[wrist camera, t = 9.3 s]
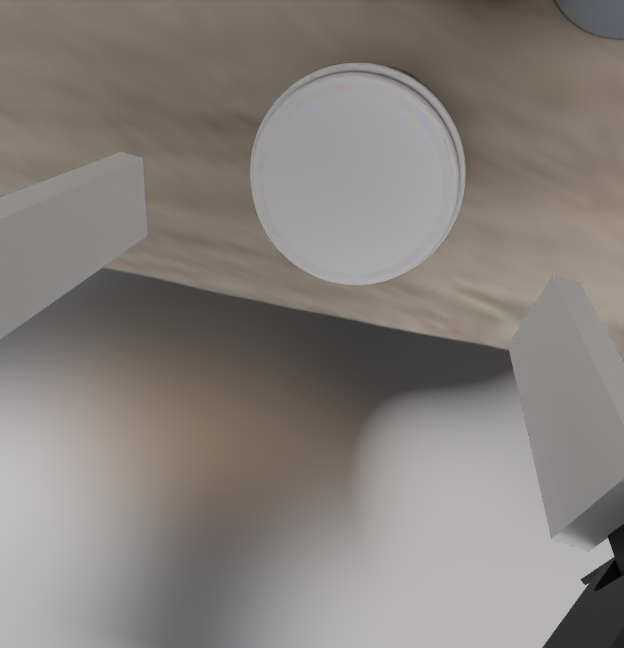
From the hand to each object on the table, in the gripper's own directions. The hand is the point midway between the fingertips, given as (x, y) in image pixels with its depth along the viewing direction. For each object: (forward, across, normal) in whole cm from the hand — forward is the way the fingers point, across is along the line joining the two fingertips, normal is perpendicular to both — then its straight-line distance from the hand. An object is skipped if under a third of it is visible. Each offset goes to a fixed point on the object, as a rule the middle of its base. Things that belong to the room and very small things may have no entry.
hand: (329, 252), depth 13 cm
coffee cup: (+17, 0, 0) cm, 17 cm away
